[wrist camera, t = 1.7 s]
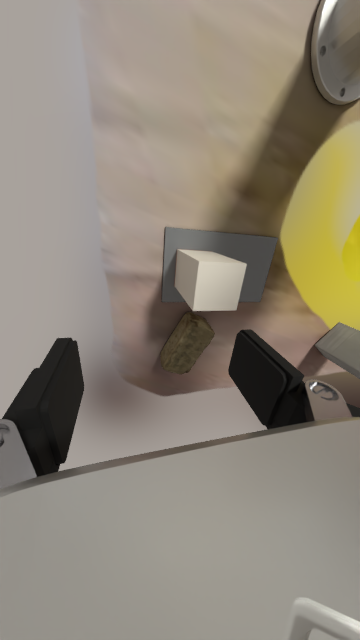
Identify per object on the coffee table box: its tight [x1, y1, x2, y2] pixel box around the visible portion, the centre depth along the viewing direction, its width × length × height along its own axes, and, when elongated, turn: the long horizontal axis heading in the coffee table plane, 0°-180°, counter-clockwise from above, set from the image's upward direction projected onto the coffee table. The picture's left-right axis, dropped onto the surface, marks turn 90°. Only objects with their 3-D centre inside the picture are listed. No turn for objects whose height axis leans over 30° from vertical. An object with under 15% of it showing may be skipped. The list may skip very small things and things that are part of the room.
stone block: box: [161, 312, 215, 374], centre depth 37 cm, size 6×12×5 cm, turn 149°
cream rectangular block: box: [174, 249, 247, 311], centre depth 29 cm, size 6×6×11 cm
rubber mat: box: [162, 227, 278, 302], centre depth 35 cm, size 12×20×1 cm, turn 85°
